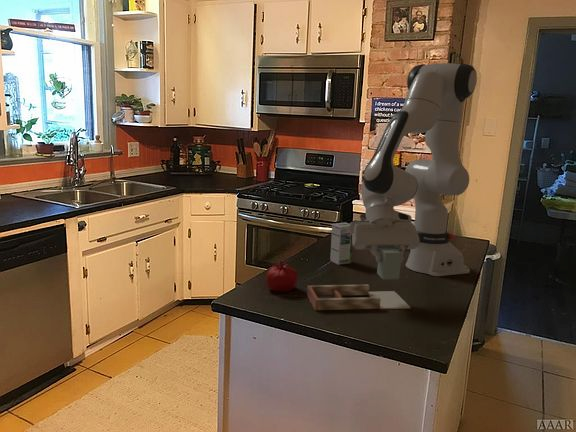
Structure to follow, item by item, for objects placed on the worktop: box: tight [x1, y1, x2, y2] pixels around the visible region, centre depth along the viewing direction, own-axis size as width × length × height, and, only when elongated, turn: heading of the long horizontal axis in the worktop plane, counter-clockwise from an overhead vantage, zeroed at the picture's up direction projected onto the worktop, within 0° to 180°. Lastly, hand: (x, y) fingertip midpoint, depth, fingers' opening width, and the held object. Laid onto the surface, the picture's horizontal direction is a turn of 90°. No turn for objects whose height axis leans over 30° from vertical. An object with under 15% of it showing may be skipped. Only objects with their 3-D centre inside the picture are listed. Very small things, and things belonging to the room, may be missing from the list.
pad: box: [367, 290, 411, 310], centre depth 144 cm, size 9×12×1 cm
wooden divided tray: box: [311, 283, 381, 311], centre depth 142 cm, size 18×11×3 cm, turn 99°
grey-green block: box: [376, 248, 402, 280], centre depth 141 cm, size 5×5×8 cm
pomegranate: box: [265, 260, 299, 293], centre depth 149 cm, size 10×10×9 cm
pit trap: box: [306, 284, 343, 311], centre depth 141 cm, size 9×11×3 cm
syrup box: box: [330, 222, 353, 266], centre depth 177 cm, size 6×6×14 cm
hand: (390, 260), depth 141 cm, fingers closed on grey-green block, 5 cm apart
